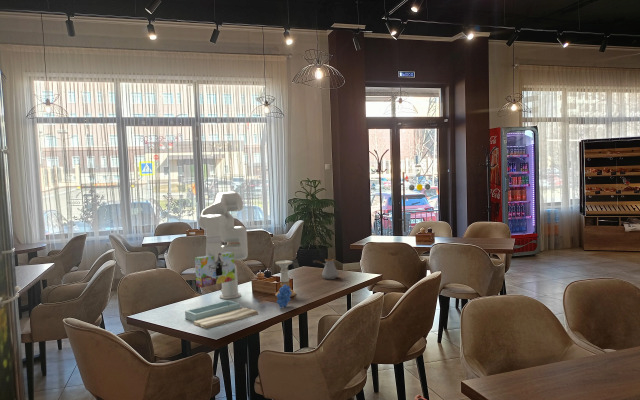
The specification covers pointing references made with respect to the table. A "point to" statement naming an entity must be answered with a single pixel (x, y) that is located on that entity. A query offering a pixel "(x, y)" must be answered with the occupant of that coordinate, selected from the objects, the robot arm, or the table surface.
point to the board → (225, 317)
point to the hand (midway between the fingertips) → (215, 274)
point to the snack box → (214, 270)
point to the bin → (211, 310)
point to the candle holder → (284, 275)
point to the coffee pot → (329, 269)
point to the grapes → (283, 296)
